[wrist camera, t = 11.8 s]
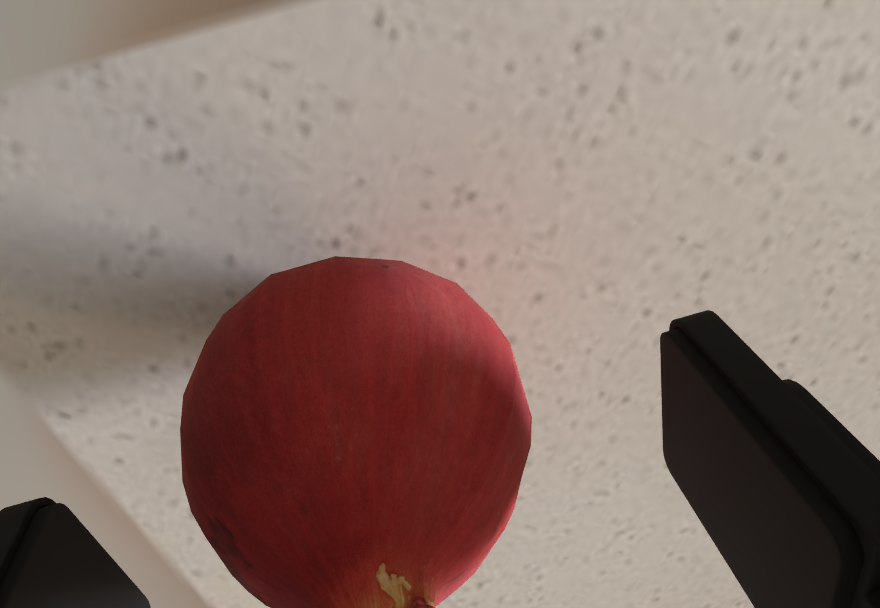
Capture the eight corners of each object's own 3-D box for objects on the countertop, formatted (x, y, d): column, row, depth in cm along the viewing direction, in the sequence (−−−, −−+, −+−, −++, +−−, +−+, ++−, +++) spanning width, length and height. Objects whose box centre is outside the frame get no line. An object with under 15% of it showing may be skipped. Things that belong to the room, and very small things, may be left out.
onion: (404, 433, 16) (470, 796, 9) (178, 371, 14) (55, 788, 7) (520, 250, 14) (714, 558, 7) (271, 141, 12) (217, 439, 5)
